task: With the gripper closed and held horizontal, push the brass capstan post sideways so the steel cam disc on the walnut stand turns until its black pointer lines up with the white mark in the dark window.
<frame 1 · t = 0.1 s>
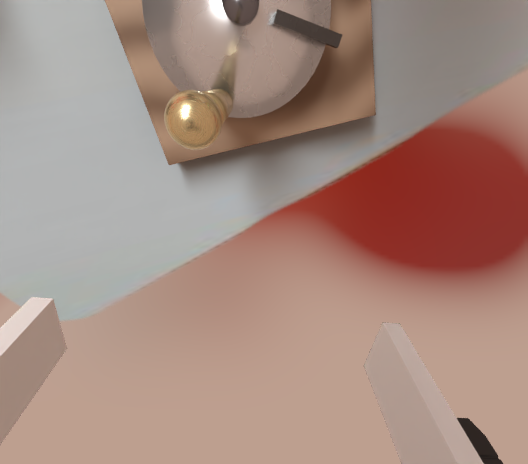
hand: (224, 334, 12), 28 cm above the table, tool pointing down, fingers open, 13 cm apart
walnut stand: (243, 18, 30), on the table
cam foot: (240, 7, 19), point 12 cm above the table, hinge at -30.0°
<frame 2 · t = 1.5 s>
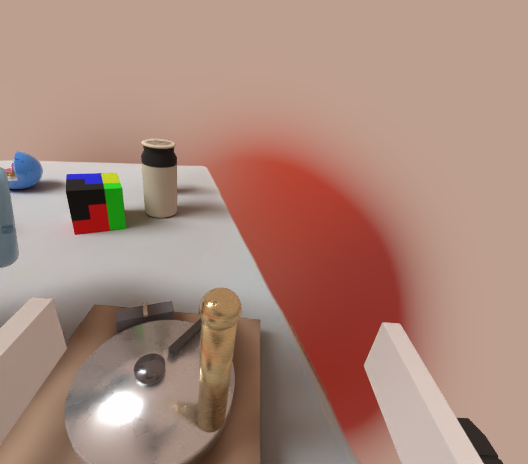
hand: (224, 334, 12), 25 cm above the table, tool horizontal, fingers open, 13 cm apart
walnut stand: (153, 407, 33), on the table
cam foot: (160, 334, 27), point 12 cm above the table, hinge at -30.0°
puzzle toy: (100, 222, 67), on the table
cell model: (19, 188, 77), on the table
travel mug: (161, 212, 76), on the table
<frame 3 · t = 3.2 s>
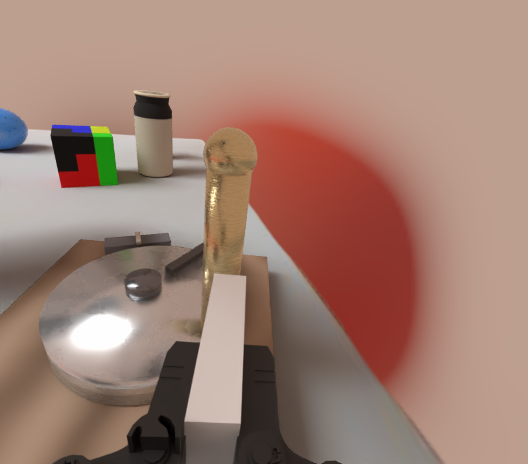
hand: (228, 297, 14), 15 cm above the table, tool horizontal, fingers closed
walnut stand: (148, 337, 28), on the table
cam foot: (155, 231, 23), point 12 cm above the table, hinge at -30.0°
puzzle toy: (89, 179, 62), on the table
cell model: (2, 149, 71), on the table
travel mug: (156, 173, 71), on the table
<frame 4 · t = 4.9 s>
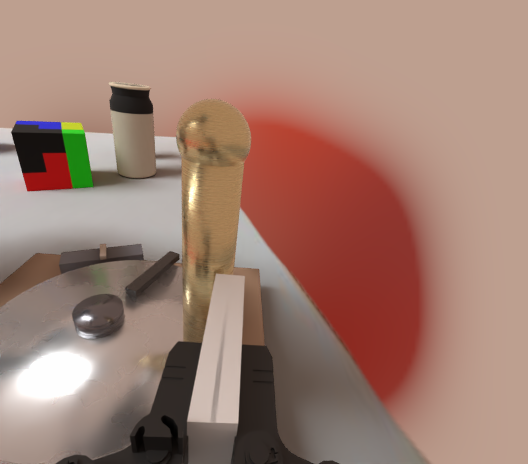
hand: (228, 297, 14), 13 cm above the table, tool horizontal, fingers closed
walnut stand: (111, 378, 23), on the table
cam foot: (110, 248, 17), point 12 cm above the table, hinge at -21.1°, touching gripper
puzzle toy: (61, 181, 56), on the table
travel mug: (137, 174, 65), on the table
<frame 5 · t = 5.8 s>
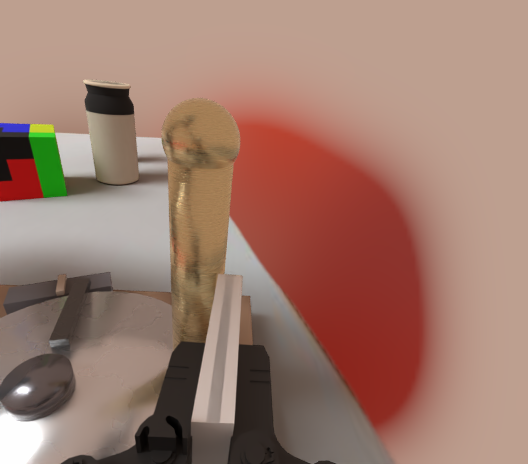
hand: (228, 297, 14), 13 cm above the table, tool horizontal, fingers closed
walnut stand: (65, 451, 18), on the table
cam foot: (47, 295, 13), point 12 cm above the table, hinge at 11.4°, touching gripper
puzzle toy: (32, 189, 51), on the table
travel mug: (118, 179, 60), on the table
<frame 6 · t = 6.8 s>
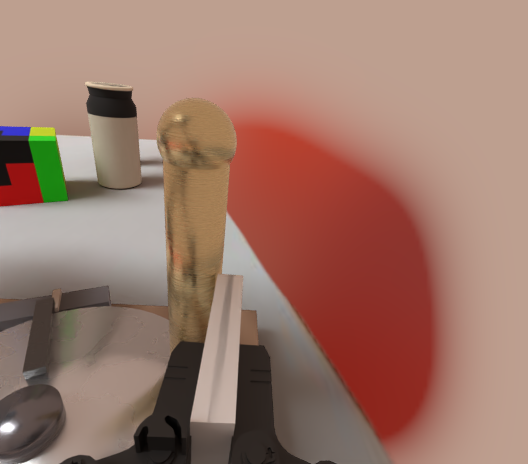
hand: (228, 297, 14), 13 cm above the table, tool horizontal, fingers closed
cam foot: (30, 322, 12), point 12 cm above the table, hinge at 24.2°, touching gripper
puzzle toy: (32, 193, 50), on the table
travel mug: (120, 183, 59), on the table
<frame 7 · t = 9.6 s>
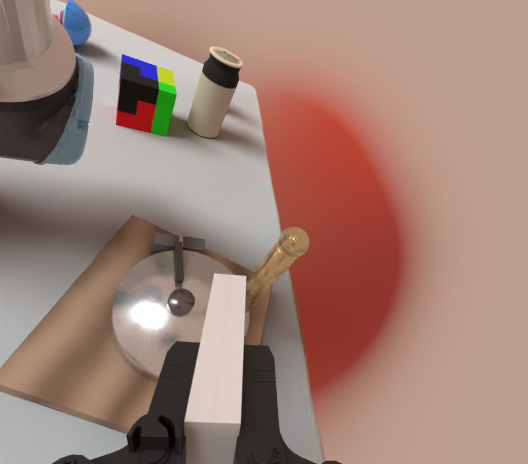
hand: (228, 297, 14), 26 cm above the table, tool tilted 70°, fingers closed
walnut stand: (168, 325, 38), on the table
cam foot: (204, 274, 31), point 12 cm above the table, hinge at 25.5°
puzzle toy: (141, 118, 64), on the table
cell model: (62, 42, 69), on the table
travel mug: (202, 129, 72), on the table
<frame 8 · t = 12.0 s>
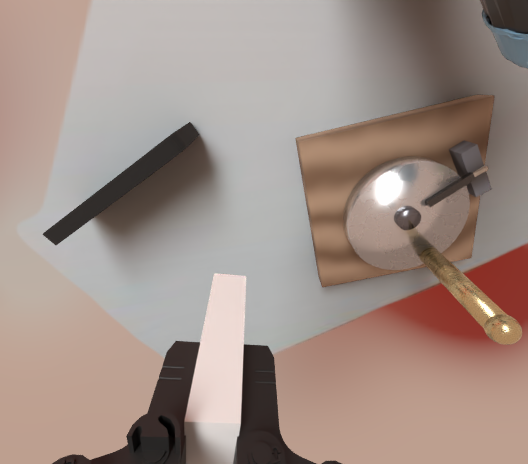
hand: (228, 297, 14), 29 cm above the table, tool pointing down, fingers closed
walnut stand: (386, 198, 44), on the table
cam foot: (438, 243, 33), point 12 cm above the table, hinge at 25.5°
nameplate: (139, 170, 41), on the table
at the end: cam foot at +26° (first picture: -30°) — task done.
